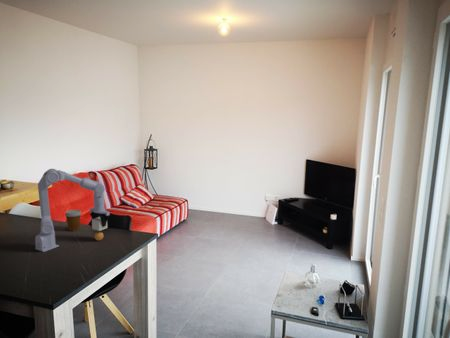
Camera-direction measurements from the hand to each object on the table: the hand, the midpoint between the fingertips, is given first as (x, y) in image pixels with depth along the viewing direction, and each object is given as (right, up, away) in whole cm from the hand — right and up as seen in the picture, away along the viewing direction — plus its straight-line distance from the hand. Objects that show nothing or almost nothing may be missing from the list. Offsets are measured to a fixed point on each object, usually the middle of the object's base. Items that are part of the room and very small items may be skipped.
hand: (100, 225), depth 205 cm
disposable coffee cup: (-23, -6, +17) cm, 29 cm away
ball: (-1, -7, 0) cm, 7 cm away
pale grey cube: (0, -2, 0) cm, 2 cm away
